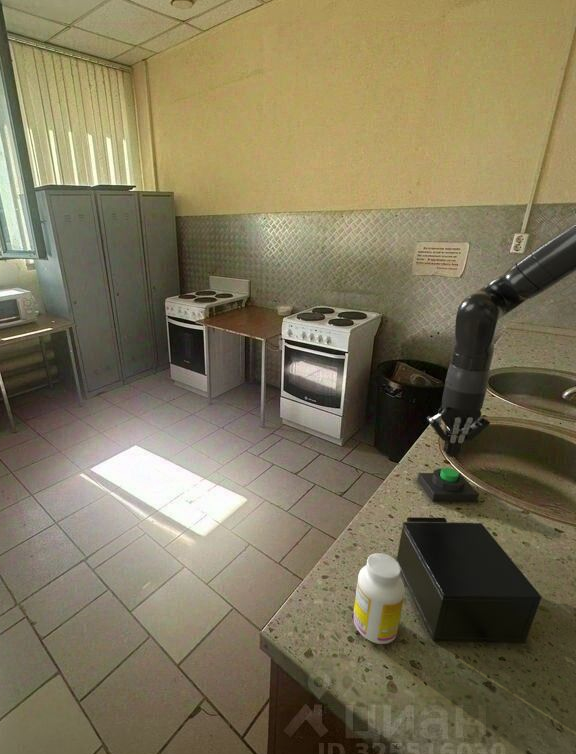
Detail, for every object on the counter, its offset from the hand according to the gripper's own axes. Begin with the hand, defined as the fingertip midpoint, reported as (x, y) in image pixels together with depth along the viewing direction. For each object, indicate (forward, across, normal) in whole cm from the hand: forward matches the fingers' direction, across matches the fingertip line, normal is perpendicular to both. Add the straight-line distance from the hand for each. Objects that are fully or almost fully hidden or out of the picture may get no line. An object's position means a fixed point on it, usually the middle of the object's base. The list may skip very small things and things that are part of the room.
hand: (450, 454), depth 90 cm
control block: (+10, +1, +1) cm, 10 cm away
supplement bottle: (+11, -27, -33) cm, 44 cm away
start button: (+7, +1, +1) cm, 7 cm away
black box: (+10, -12, -28) cm, 32 cm away
